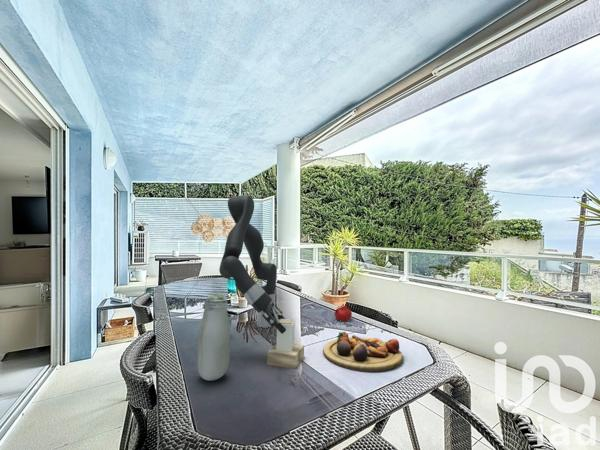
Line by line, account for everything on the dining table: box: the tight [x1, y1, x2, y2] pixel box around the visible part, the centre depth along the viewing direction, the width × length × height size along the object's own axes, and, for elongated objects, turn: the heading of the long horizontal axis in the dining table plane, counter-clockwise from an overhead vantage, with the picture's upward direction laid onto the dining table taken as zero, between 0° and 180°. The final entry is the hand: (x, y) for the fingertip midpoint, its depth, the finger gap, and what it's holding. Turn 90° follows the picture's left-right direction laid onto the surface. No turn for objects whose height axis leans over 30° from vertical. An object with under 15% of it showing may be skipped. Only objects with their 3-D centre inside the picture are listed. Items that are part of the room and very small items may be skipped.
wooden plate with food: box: [322, 331, 404, 372], centre depth 120 cm, size 32×32×8 cm
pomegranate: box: [334, 303, 353, 322], centre depth 170 cm, size 10×10×9 cm
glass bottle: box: [197, 293, 232, 382], centre depth 98 cm, size 10×10×28 cm
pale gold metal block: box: [266, 343, 305, 370], centre depth 113 cm, size 11×11×5 cm
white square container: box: [275, 318, 296, 352], centre depth 114 cm, size 6×6×10 cm
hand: (285, 328), depth 114 cm, fingers open, 8 cm apart
